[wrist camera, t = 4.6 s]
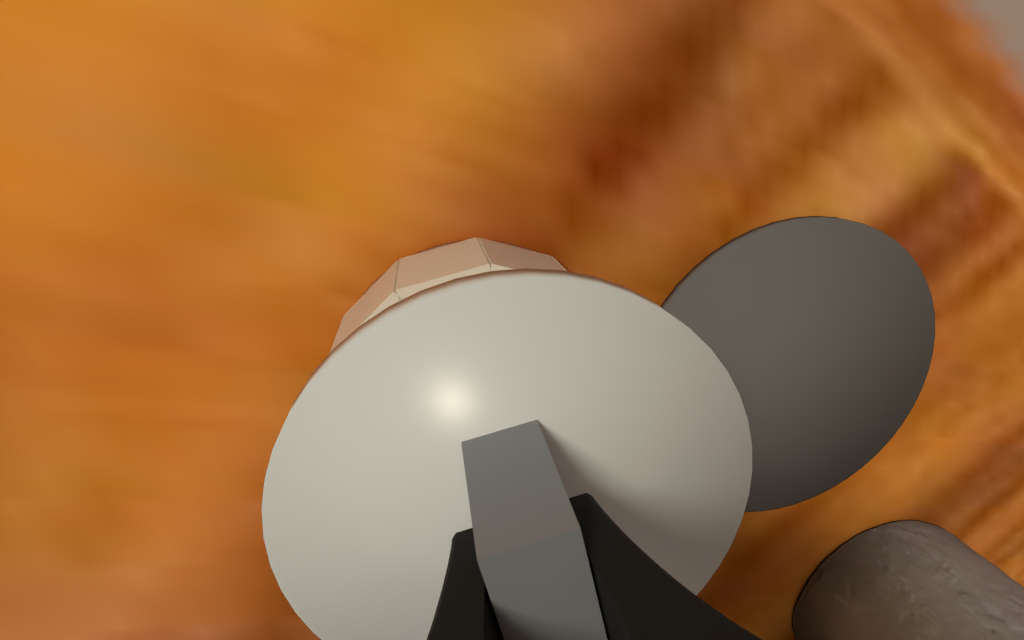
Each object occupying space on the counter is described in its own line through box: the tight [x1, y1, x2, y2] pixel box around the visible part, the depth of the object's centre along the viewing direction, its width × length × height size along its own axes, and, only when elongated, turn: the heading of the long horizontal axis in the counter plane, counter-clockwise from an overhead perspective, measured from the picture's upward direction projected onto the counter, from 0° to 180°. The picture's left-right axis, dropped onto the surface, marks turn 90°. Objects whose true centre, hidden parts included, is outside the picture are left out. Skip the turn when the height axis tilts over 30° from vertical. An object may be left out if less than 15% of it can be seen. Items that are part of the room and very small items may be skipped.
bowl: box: [329, 237, 567, 354], centre depth 18 cm, size 10×10×4 cm
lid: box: [262, 268, 752, 640], centre depth 12 cm, size 12×12×4 cm
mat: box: [661, 216, 935, 512], centre depth 22 cm, size 13×13×1 cm
